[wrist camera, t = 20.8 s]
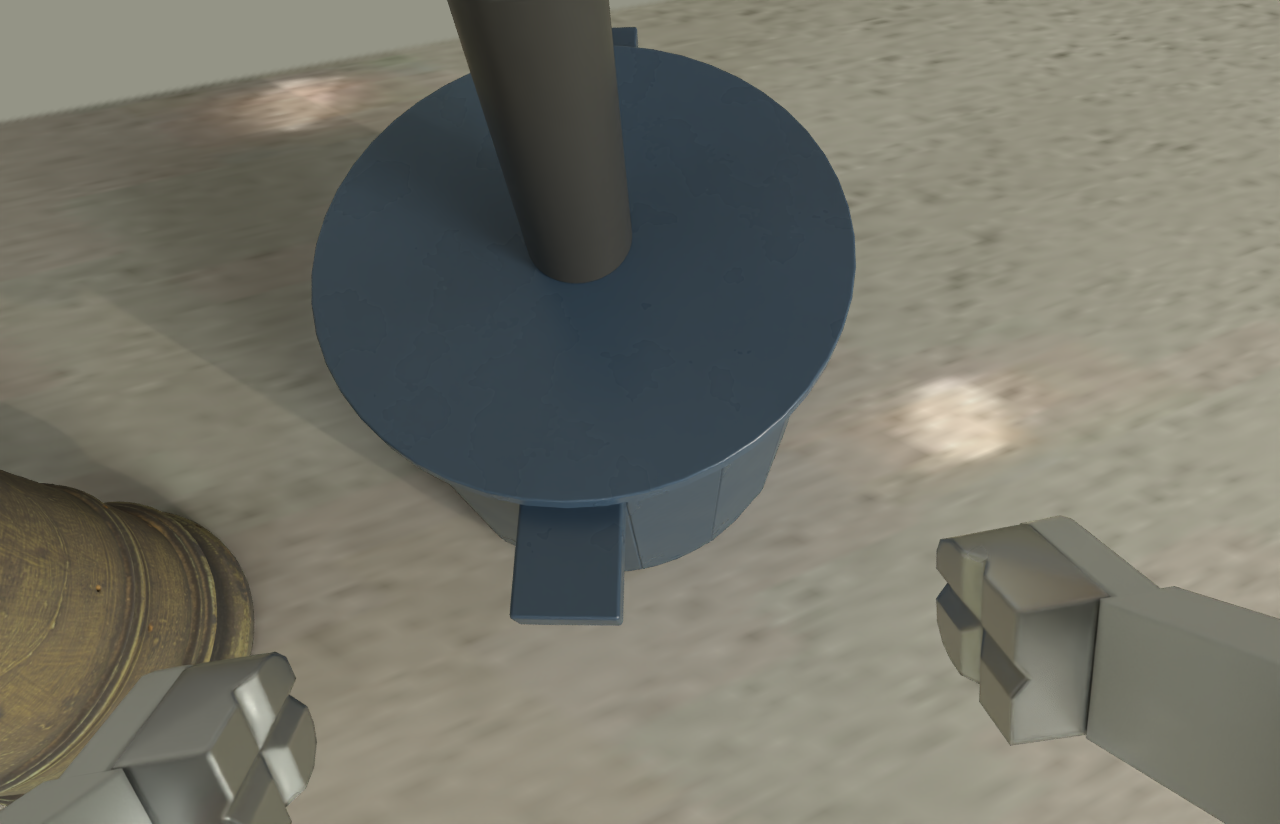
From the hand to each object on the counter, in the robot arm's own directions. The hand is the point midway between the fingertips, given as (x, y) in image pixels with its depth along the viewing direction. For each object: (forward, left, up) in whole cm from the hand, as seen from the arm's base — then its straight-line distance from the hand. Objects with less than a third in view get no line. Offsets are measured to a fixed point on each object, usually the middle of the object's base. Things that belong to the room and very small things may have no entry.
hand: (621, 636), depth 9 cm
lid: (-2, +10, -6) cm, 12 cm away
